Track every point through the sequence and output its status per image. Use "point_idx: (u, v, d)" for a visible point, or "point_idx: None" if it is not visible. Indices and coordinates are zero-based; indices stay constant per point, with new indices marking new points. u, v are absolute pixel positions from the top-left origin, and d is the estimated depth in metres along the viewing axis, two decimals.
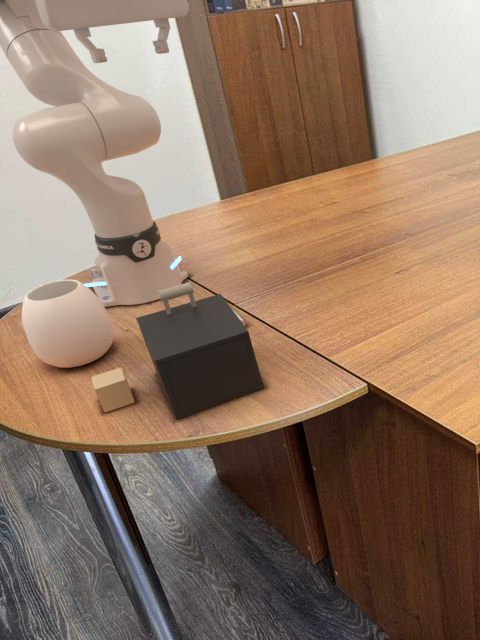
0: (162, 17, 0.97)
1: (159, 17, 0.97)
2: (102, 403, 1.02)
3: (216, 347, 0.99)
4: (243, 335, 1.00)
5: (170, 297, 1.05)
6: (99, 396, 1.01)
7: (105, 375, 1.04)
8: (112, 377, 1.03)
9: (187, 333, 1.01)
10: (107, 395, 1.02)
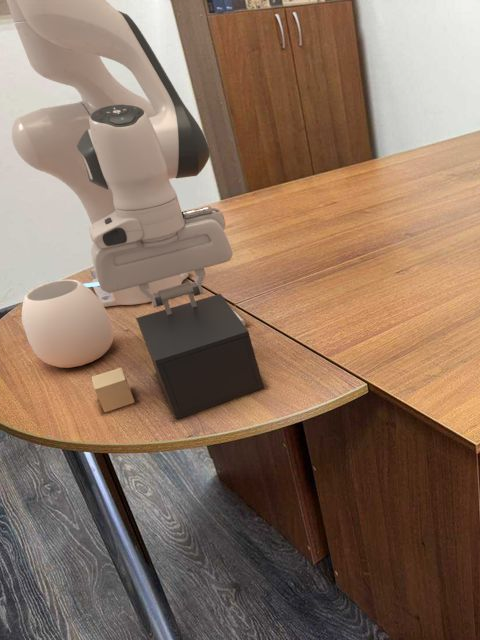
0: (206, 266, 1.05)
1: (203, 267, 1.05)
2: (102, 403, 1.02)
3: (216, 347, 0.99)
4: (243, 335, 1.00)
5: (170, 297, 1.05)
6: (99, 396, 1.01)
7: (105, 375, 1.04)
8: (112, 377, 1.03)
9: (187, 333, 1.01)
10: (107, 395, 1.02)
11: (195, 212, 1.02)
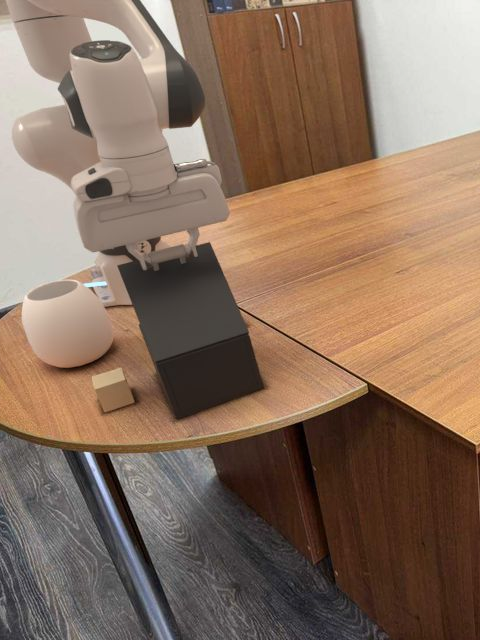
0: (200, 226, 0.96)
1: (198, 226, 0.96)
2: (102, 403, 1.02)
3: (216, 347, 0.99)
4: (243, 335, 1.00)
5: (161, 262, 0.97)
6: (99, 396, 1.01)
7: (105, 375, 1.04)
8: (112, 377, 1.03)
9: (183, 317, 0.98)
10: (107, 395, 1.02)
11: (188, 164, 0.93)
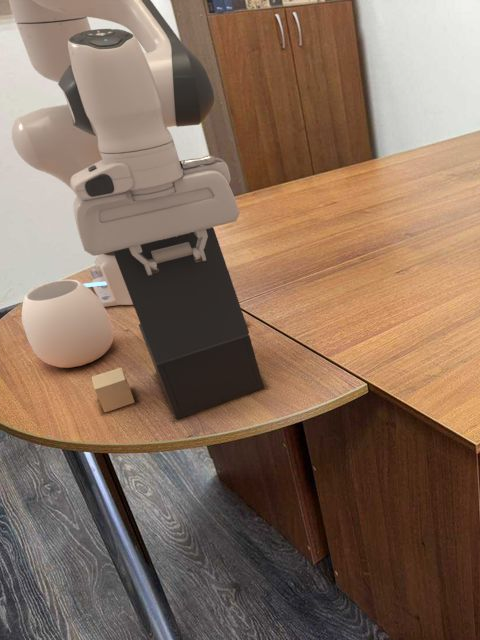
0: (208, 226, 0.90)
1: (205, 227, 0.90)
2: (102, 403, 1.02)
3: (216, 347, 0.99)
4: (243, 334, 1.00)
5: (165, 260, 0.91)
6: (99, 396, 1.01)
7: (105, 375, 1.04)
8: (112, 377, 1.03)
9: (184, 315, 0.95)
10: (107, 395, 1.02)
11: (195, 161, 0.87)
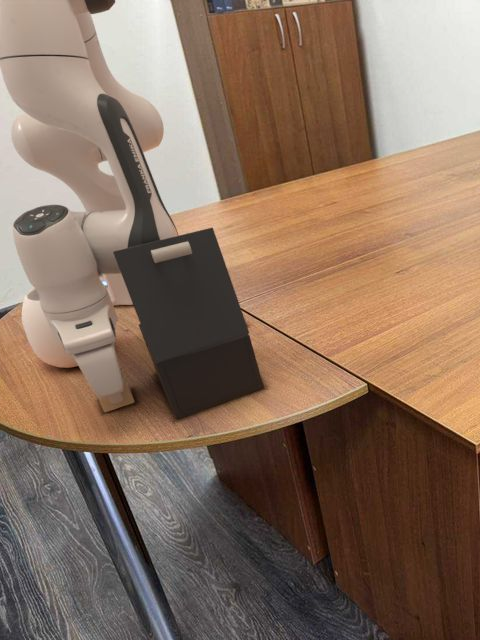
0: None
1: None
2: (102, 403, 1.02)
3: (216, 347, 0.99)
4: (243, 334, 1.00)
5: None
6: None
7: None
8: None
9: (183, 315, 0.96)
10: None
11: None
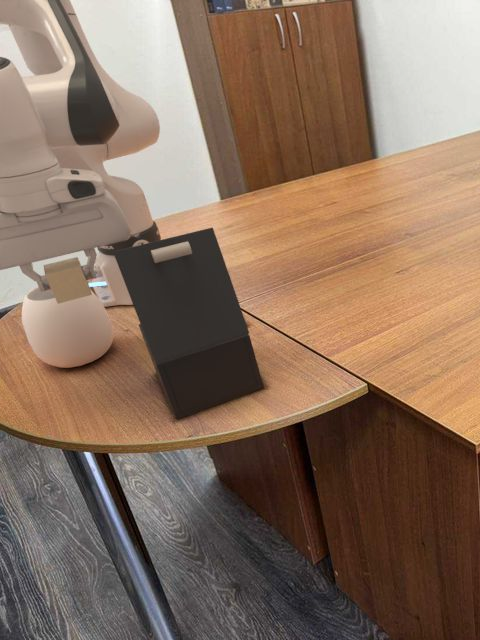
0: None
1: None
2: (87, 283, 0.94)
3: (216, 347, 0.99)
4: (243, 334, 1.00)
5: None
6: (84, 275, 0.93)
7: (53, 268, 0.92)
8: (64, 263, 0.94)
9: (183, 315, 0.96)
10: None
11: None
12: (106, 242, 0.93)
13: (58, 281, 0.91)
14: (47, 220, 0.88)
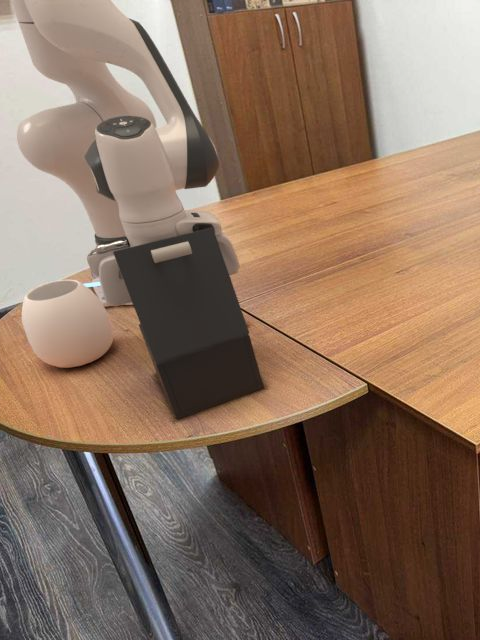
0: None
1: None
2: None
3: (216, 347, 0.99)
4: (243, 334, 1.00)
5: None
6: None
7: None
8: None
9: (183, 315, 0.96)
10: None
11: None
12: None
13: None
14: None
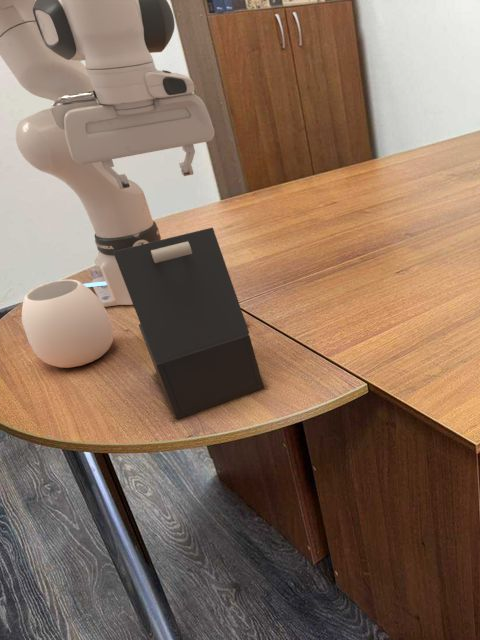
0: None
1: None
2: None
3: (216, 347, 0.99)
4: (243, 334, 1.00)
5: None
6: None
7: None
8: None
9: (183, 315, 0.96)
10: None
11: None
12: (192, 141, 1.00)
13: None
14: (142, 116, 0.95)
